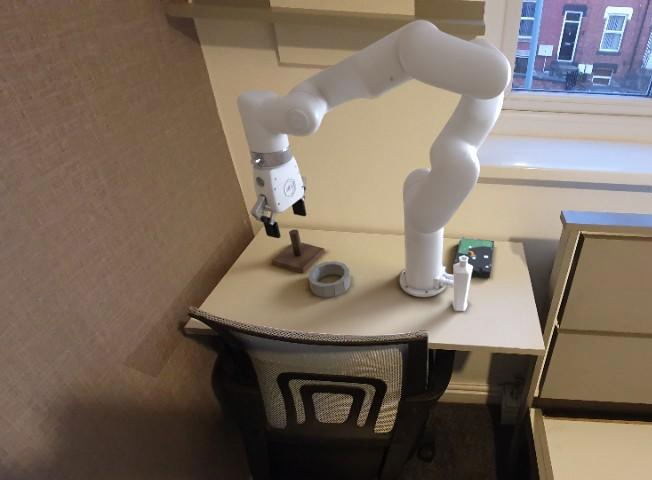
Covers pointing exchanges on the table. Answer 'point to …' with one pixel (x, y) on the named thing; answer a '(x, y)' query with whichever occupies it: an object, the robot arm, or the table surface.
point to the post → (298, 254)
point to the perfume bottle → (461, 283)
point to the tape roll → (329, 288)
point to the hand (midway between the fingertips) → (287, 225)
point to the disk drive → (477, 255)
